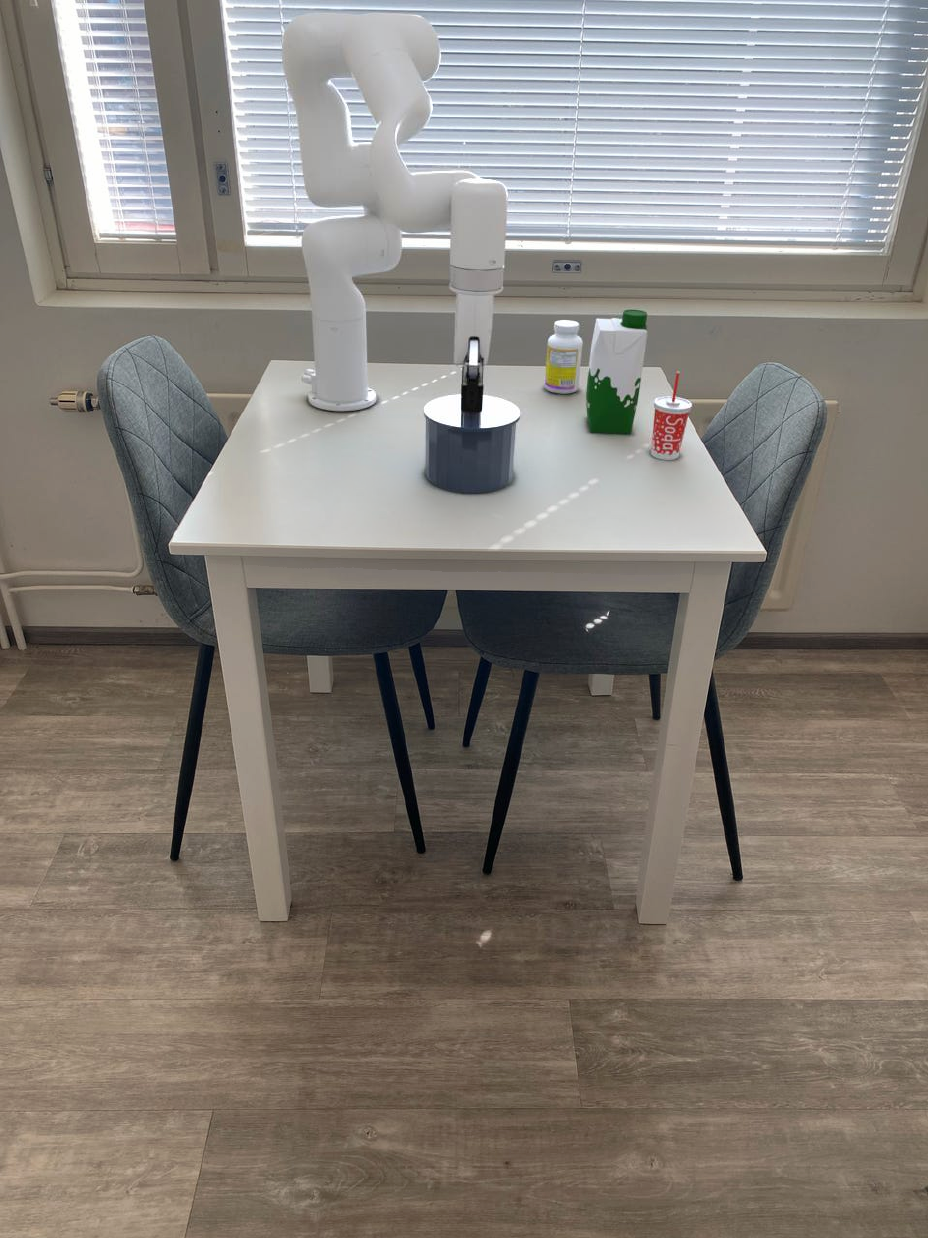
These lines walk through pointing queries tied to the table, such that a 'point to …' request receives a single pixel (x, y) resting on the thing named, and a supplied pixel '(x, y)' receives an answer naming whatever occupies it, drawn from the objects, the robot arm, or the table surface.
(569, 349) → the supplement bottle
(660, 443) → the beverage cup
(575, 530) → the table surface
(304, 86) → the robot arm
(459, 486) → the crock
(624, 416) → the milk carton
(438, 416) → the crock lid
